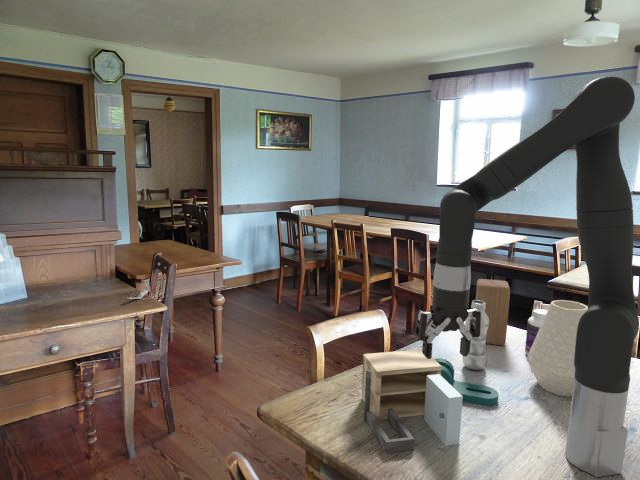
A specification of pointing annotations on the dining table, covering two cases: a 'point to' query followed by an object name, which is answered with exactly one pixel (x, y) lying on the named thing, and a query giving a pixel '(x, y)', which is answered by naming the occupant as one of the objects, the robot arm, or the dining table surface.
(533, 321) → the pill bottle
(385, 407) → the wooden caddy
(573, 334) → the vase
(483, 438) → the dining table surface
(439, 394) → the door
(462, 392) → the bracket
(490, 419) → the dining table surface
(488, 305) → the wooden block
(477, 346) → the plastic bottle
